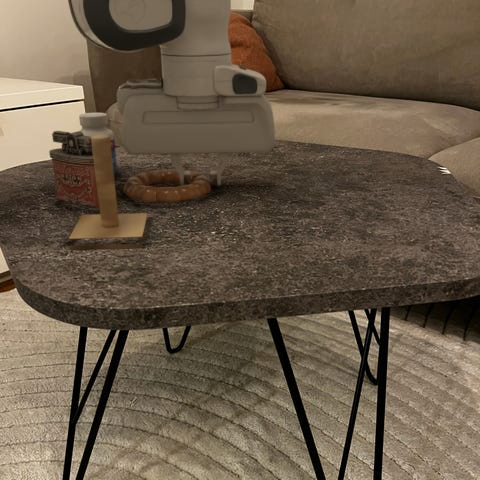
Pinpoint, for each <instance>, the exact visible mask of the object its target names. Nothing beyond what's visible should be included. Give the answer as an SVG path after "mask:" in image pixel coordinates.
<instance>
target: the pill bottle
mask: <svg viewBox="0 0 480 480" xmlns="http://www.w3.org/2000/svg"><path fill="white" fill-rule="evenodd" d="M78 117H79V126H81V129H79V130H78V131H80V132H82V133H83V135H84V136H90V137H91V136H93V135H100V134H104V135H109V136H110V144H111V153H112V162H113V172H114V175H116V174H117V173H118V166H117V165H118V164H117V156H116V155H117V154H116V145H115V135H114V131H113V130H111V128H108V124H109V120H108V119H109V118H108V114H107V113H105V112H85V113H80V114H79V115H78ZM92 152H93V151H92Z"/></svg>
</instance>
